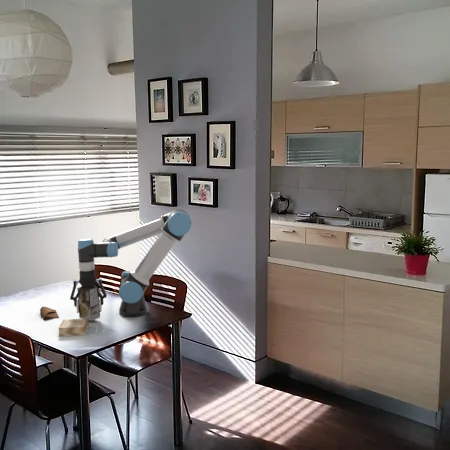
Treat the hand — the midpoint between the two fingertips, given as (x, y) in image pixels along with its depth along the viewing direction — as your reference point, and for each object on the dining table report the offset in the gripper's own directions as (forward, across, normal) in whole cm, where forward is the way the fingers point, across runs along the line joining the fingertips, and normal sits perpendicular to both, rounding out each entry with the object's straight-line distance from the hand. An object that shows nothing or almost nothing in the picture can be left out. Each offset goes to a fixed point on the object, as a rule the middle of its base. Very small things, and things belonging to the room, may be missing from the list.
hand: (89, 311), depth 256 cm
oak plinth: (+4, +6, +15) cm, 17 cm away
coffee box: (+3, 0, 0) cm, 3 cm away
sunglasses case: (+6, +22, -13) cm, 27 cm away
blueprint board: (+5, +3, +15) cm, 16 cm away
